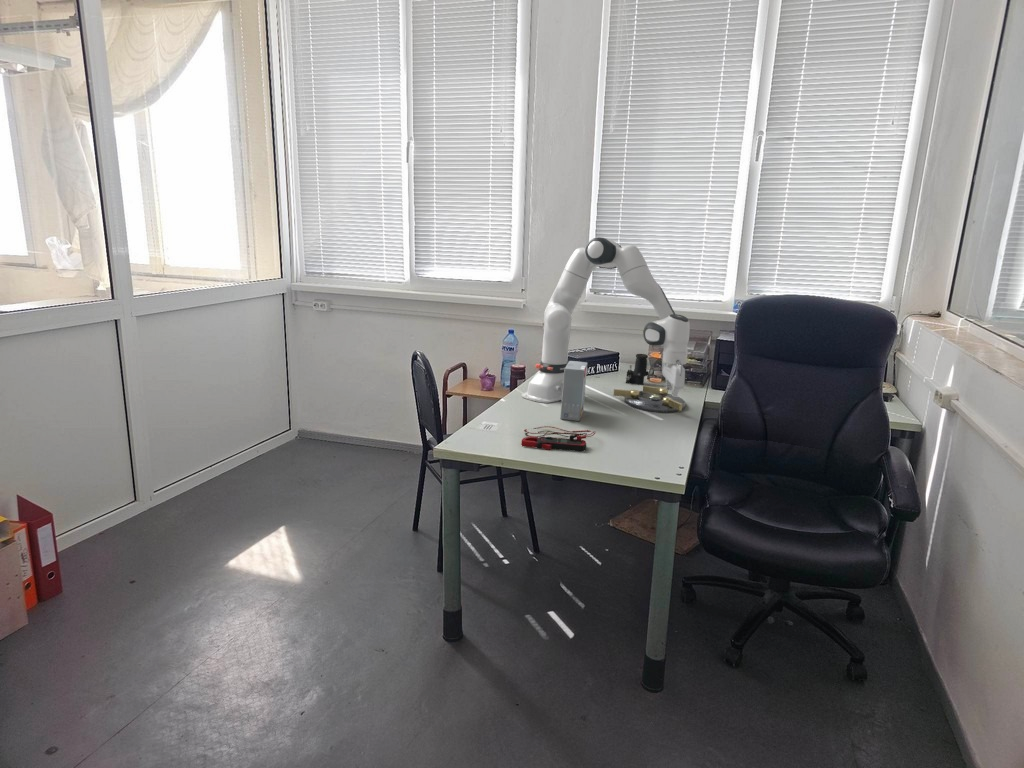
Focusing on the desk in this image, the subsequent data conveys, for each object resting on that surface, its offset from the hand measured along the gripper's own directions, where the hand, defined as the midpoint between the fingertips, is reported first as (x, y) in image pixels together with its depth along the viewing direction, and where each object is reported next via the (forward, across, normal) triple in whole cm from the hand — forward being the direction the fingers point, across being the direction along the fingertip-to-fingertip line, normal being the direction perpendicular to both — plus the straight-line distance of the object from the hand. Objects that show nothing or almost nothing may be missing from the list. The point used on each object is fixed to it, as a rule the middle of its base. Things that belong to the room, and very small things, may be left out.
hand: (671, 393), depth 243 cm
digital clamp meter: (+11, -27, +45) cm, 53 cm away
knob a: (+9, +30, -1) cm, 32 cm away
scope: (+11, +56, +2) cm, 57 cm away
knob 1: (+8, +24, +13) cm, 28 cm away
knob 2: (+9, +11, -4) cm, 15 cm away
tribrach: (+11, +22, +1) cm, 25 cm away
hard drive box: (+11, +2, +37) cm, 39 cm away
